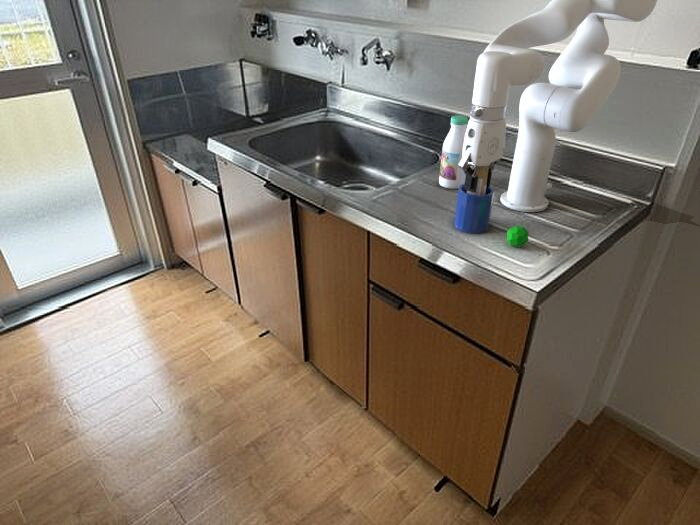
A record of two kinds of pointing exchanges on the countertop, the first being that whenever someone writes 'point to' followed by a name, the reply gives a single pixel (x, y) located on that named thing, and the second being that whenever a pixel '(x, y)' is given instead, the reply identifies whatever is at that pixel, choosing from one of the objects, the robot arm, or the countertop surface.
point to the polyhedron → (517, 236)
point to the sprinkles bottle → (481, 179)
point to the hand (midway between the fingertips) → (476, 187)
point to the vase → (473, 210)
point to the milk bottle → (453, 154)
